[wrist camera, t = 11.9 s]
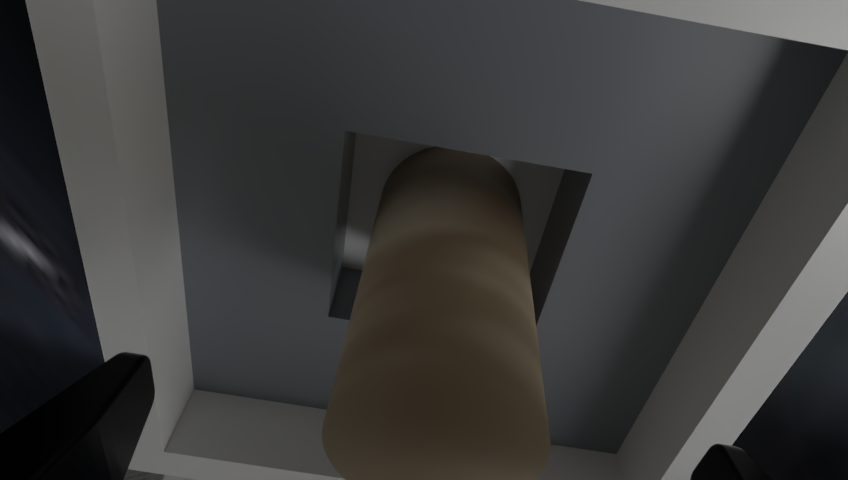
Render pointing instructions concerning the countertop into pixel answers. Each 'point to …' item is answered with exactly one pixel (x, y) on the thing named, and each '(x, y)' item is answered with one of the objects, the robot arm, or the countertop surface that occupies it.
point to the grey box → (470, 132)
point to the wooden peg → (442, 334)
